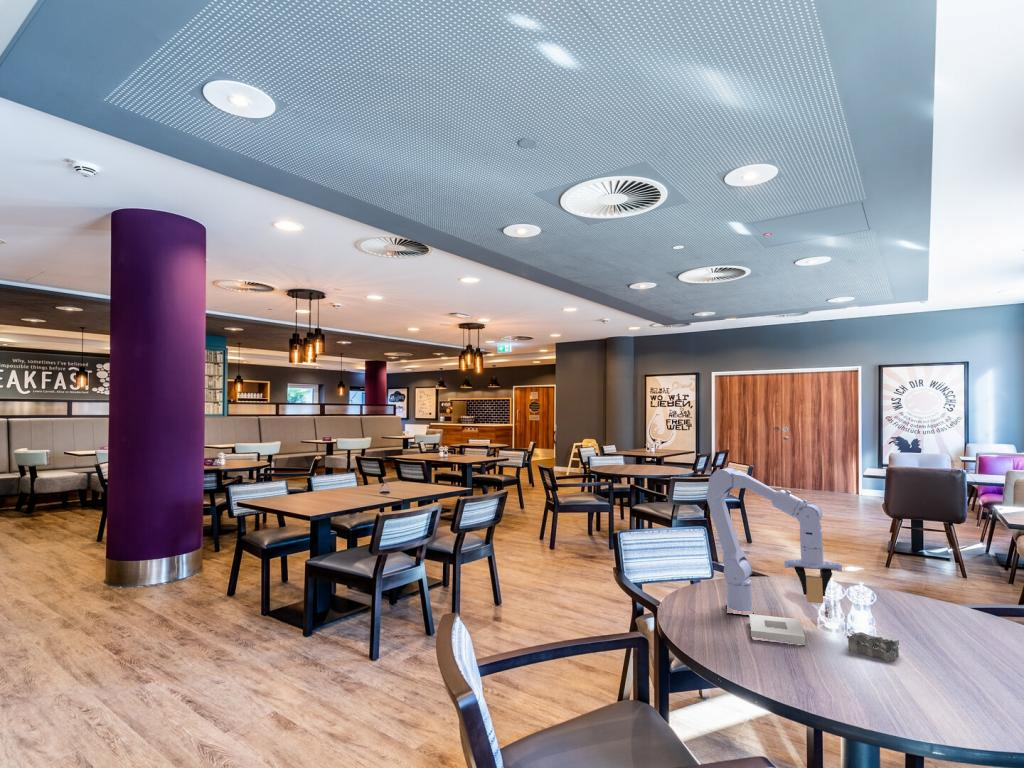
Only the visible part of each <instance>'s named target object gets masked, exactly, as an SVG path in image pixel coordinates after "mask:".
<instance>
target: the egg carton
mask: <svg viewBox="0 0 1024 768" xmlns="http://www.w3.org/2000/svg"><path fill="white" fill-rule="evenodd" d="M846 638H847V643H848V645H847V646H848V650H849V651H851V652H852V653H854V654H865V655H866V656H867V657H870V656H871V658H874V657H873V656H878V657H877V658H880V657H882V658H883V659H884V660H883V659H882V658H881V659H882V660H883V661H885V660H896V661H897V656H898V657H899V656H900V652H899V649H900V648H899V646H900V640H893V639H888V638H885V639H884V638H883V636H879V637H878V636H874V635H870V634H866V633H865V632H855V633H853V634H851V635H846ZM873 647H875V648H873ZM886 651H889V652H886Z"/></svg>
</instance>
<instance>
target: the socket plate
mask: <svg viewBox="0 0 1024 768" xmlns="http://www.w3.org/2000/svg"><path fill="white" fill-rule="evenodd" d="M748 617H749V626H750V627H751V629H750V637H756V638H763V639H768V640H776V641H782V642H788V643H794V644H801V645H805V646H806V636H805V632H804V630H803V626H802V624H801V621H800V619H799V618H792V617H783V616H781V617H780V616H770V615H761V614H755V613H754V614H749V616H748ZM765 626H767V627H765ZM750 627H749V628H750ZM769 627H774V628H769ZM778 628H781V629H778Z"/></svg>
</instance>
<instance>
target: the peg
mask: <svg viewBox="0 0 1024 768" xmlns="http://www.w3.org/2000/svg"><path fill="white" fill-rule="evenodd" d="M805 573H806V590H807V595H805V599H806V602H807V603H812V604H813V603H814V604H815V603H817V604H824V596H823V587H822V577H821V575H820V573H807V572H805Z"/></svg>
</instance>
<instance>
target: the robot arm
mask: <svg viewBox="0 0 1024 768" xmlns="http://www.w3.org/2000/svg"><path fill="white" fill-rule="evenodd" d="M732 489H747V490H749V491H751V492H752V493H755V494H757V495H758V496H761V497H763V498H765V499H767V500H770V502H771V504H772V507H774V508H776V509H778V510H780V511H781V512H783V513H785V514H787V515H788V516H791V517H792V518H796V520H797V522H799V541H800V542H799V544H800V559H799V558H798V559H785V558H784V560H783V561H784V562H783V564H784V568H787V569H789V568H791V569H792V568H793V569H794V570H795V574H796V575H797V577H798V579H799V581H800V584H801V585H800V586H801V588H802V593H803V595H804V596H806V595H807V590H806V573H807V572H806V569H807V570H808V569H809V570H819V574H820V576H821V577H822V587H823V597H826V591H827V587H828V584H829V582H830V581H831V578H832V576H833V572H832V571H834V572H835V571H836V572H840V573H842V572H843V565H842V564H841V562H833V561H832V562H831V561H825V560H824V545H823V544H824V543H823V542H824V541H823V530H822V522H820V521H821V520H822V518H823V510H822V509H821V507H820V506H818V505H817V504H816V503H814V502H808V500H807V499H802V498H799V497H797V496H796V495H793V494H792V491H790V490H788V489H787V490H784V489H781V490H775V489H774V488H771V486H769V485H766V484H765V483H763V482H761V481H759V480H758V479H756V478H754V477H752V476H750V475H749V474H747V473H745V472H743V471H741V470H737V469H736V468H734V467H732V466H727V467H725V468H722V469H717V470H715V471H713V473H712V475H710V477H709V478H708V487H707V491H706V495H705V497H706V500H707V505H708V508H709V511H710V514H711V517H712V519H713V523H714V526H715V530H716V533H717V536H718V538H719V542H720V545H721V549H722V551H723V554H722V555H723V557H722V563H723V576H724V578H725V580H726V582H725V584H726V603H727V606H728V607H729V608H731V609H733V610H737V611H751V610H752V605H753V597H752V596H753V594H752V580H751V578H750V576H751V575H752V574H753V571H754V570H753V565H752V563H751V562H750V560H748V558H747V556H746V553H745V552H744V551H743V549H742V548H741V546H740V542H739V539H738V537H737V534H736V530H735V526H734V524H733V522H732V518H731V515H730V513H729V509H728V506H727V503H726V497H727V496H728V494H729V493H730V491H731V490H732Z"/></svg>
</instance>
